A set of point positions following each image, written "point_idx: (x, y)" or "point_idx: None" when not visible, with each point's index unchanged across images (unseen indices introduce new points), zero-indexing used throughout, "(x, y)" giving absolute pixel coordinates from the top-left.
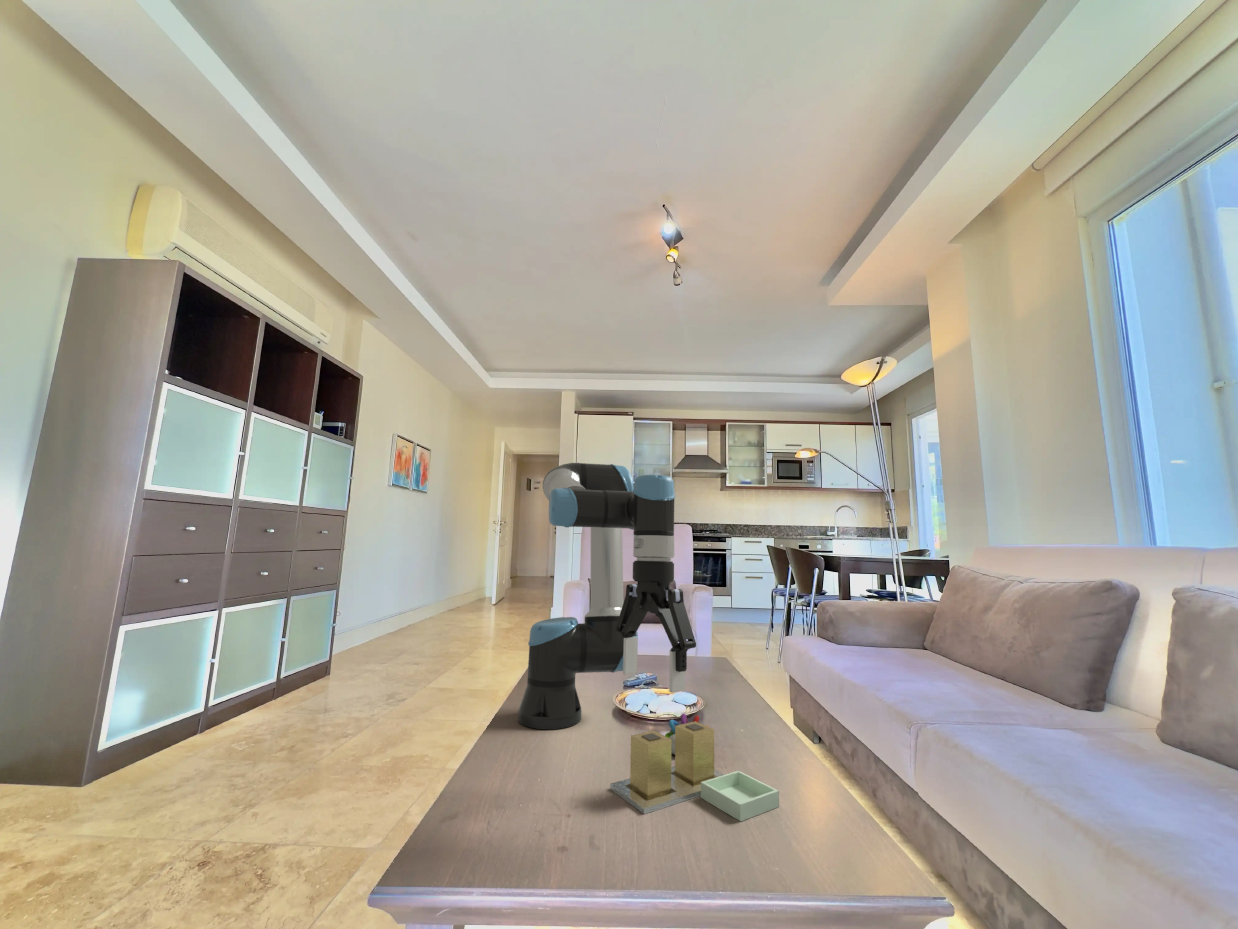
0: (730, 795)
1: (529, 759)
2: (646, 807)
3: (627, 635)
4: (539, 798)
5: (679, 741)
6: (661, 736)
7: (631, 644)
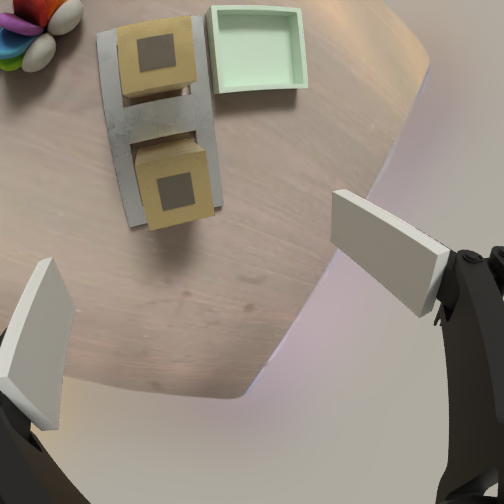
0: (238, 52)
1: None
2: (222, 200)
3: (26, 428)
4: (133, 317)
5: (141, 92)
6: (179, 164)
7: (40, 378)
